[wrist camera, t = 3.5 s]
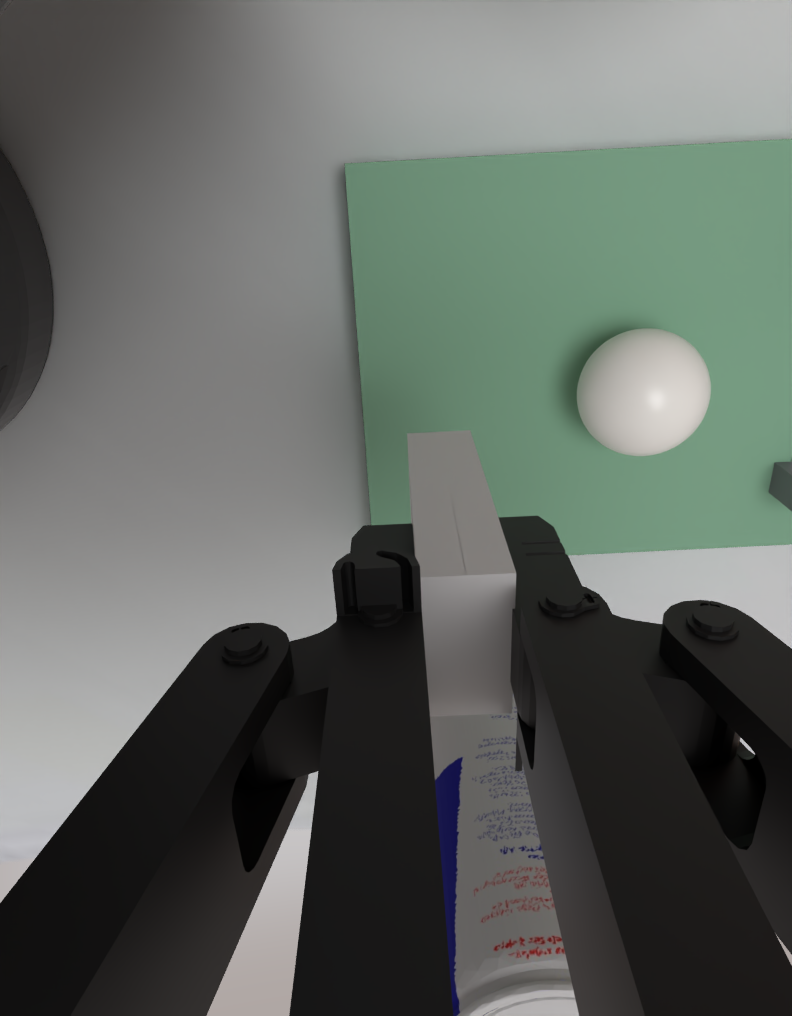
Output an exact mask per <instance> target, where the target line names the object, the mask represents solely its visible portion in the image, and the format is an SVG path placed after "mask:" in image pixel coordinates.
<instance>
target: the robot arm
mask: <svg viewBox="0 0 792 1016" xmlns="http://www.w3.org/2000/svg"><path fill="white" fill-rule="evenodd" d="M11 1H12V0H0V15H1V13H2V12H3V11H4V10H5V9H6V7H7V6H8V5H9V4H10V3H11ZM52 320H53V295H52V282H51V276H50V269H49V263H48V259H47V254H46V250H45V246H44V243H43V239H42V236H41V232H40V229H39V226H38V224H37V221H36V218H35V215H34V213H33V210H32V208H31V206H30V203H29V201H28V199H27V196H26V194H25V192H24V190H23V188H22V186H21V184H20V182H19V180H18V178H17V176H16V175H15V173H14V171H13V169H12V168H11V166H10V164H9V163H8V161H7V159H6V157H5V156H4V154H3V153H2V151H1V150H0V430H1V429H3V428H4V427H5V426H6V425H7V424H8V423H9V422H10V421H11V420H12V419H13V418H14V417H15V416H16V414H17V413H18V412H19V411H20V410H21V409H22V407H23V406H24V404H25V403H26V401H27V400H28V399H29V397H30V395H31V393H32V392H33V390H34V388H35V386H36V384H37V382H38V380H39V377H40V375H41V373H42V370H43V367H44V364H45V361H46V357H47V353H48V349H49V345H50V339H51V332H52ZM407 441H408V463H409V486H410V508H411V523H409V524H388V525H367V526H363V527H362V528H361V529H360V530H359V531H358V532H357V533H356V534H355V535H354V536H353V538H352V542H351V551H350V553H349V554H347V555H345V556H344V557H342V558H341V559H340V560H338V561H337V562H336V564H335V566H334V568H333V570H332V572H333V582H334V592H335V601H336V611H337V621H336V622H335V623H334V624H333V625H332V626H330V627H329V628H328V629H326V630H324V631H322V632H320V633H318V634H315V635H312V636H309V637H306V638H302V639H298V640H294V641H291V642H289V639H288V637H287V634H286V633H285V632H284V631H282V630H281V629H279V628H278V627H277V626H273V625H269V624H265V623H245V624H240V625H236V626H233V627H229V628H227V629H225V630H223V631H221V632H219V633H217V634H215V635H214V636H212V637H211V638H210V639H209V640H208V641H207V642H206V643H205V644H203V646H202V647H201V648H200V650H199V651H198V652H197V653H196V655H195V656H194V657H193V658H192V660H191V661H190V662H189V664H188V665H187V666H186V667H185V669H184V670H183V671H182V673H181V674H180V675H179V676H178V678H177V679H176V680H175V681H174V683H173V684H172V685H171V687H170V688H169V689H168V690H167V692H166V693H165V694H164V695H163V697H162V698H161V699H160V701H159V702H158V703H157V704H156V706H155V707H154V708H153V709H152V711H151V712H150V713H149V715H148V716H147V717H146V718H145V720H144V721H143V722H142V723H141V725H140V726H139V727H138V729H137V730H136V731H135V732H134V734H133V735H132V736H131V737H130V739H129V740H128V741H127V743H126V744H125V745H124V746H123V748H122V749H121V750H120V751H119V753H118V754H117V755H116V757H115V758H114V759H113V760H112V762H111V763H110V764H109V765H108V767H107V768H106V769H105V771H104V772H103V773H102V774H101V776H100V777H99V778H98V779H97V781H96V782H95V783H94V785H93V786H92V787H91V788H90V790H89V791H88V792H87V793H86V795H85V796H84V797H83V799H82V800H81V801H80V802H79V804H78V805H77V806H76V807H75V809H74V810H73V811H72V813H71V814H70V815H69V816H68V818H67V819H66V820H65V821H64V823H63V824H62V825H61V827H60V828H59V829H58V830H57V832H56V833H55V834H54V835H53V837H52V838H51V839H50V841H49V842H48V843H47V844H46V846H45V847H44V848H43V849H42V851H41V852H40V853H39V855H38V856H37V857H36V858H35V860H34V861H33V862H32V863H31V865H30V866H29V867H28V869H27V870H26V871H25V873H24V874H23V875H22V876H21V877H20V879H19V880H18V881H17V883H16V884H15V885H14V886H13V888H12V889H11V890H10V891H9V893H8V894H7V895H6V897H5V898H4V899H3V901H2V902H1V903H0V1016H206V1015H207V1013H208V1010H209V1008H210V1006H211V1004H212V1001H213V999H214V997H215V994H216V992H217V990H218V988H219V985H220V983H221V981H222V978H223V976H224V974H225V971H226V969H227V967H228V964H229V962H230V960H231V958H232V955H233V953H234V951H235V949H236V946H237V944H238V942H239V939H240V937H241V935H242V932H243V930H244V928H245V925H246V923H247V921H248V919H249V916H250V914H251V912H252V909H253V907H254V905H255V903H256V900H257V898H258V896H259V893H260V891H261V889H262V887H263V884H264V882H265V880H266V877H267V875H268V873H269V871H270V868H271V866H272V863H273V861H274V859H275V857H276V854H277V852H278V850H279V848H280V845H281V843H282V841H283V838H284V836H285V834H286V832H287V829H288V827H289V825H290V822H291V820H292V818H293V815H294V813H295V811H296V809H297V806H298V804H299V802H300V799H301V797H302V795H303V793H304V790H305V788H306V785H307V779H308V774H310V773H313V772H317V771H319V772H318V780H317V788H316V797H315V805H314V814H313V822H312V830H311V839H310V847H309V856H308V864H307V872H306V881H305V889H304V898H303V906H302V915H301V923H300V932H299V940H298V948H297V956H296V965H295V974H294V982H293V990H292V999H291V1007H290V1015H289V1016H453V1004H452V992H451V979H450V966H449V953H448V940H447V927H446V915H445V902H444V889H443V876H442V863H441V851H440V838H439V825H438V812H437V799H436V787H435V774H434V761H433V748H432V735H431V723H430V717H435V716H458V715H481V714H504V713H512V696H513V695H514V699H515V703H516V707H517V733H516V762H515V771H522V766H523V768H524V772H525V776H526V781H527V785H528V790H529V794H530V799H531V803H532V808H533V812H534V817H535V821H536V826H537V830H538V834H539V839H540V843H541V848H542V852H543V857H544V861H545V866H546V870H547V875H548V879H549V884H550V888H551V892H552V897H553V901H554V906H555V910H556V915H557V919H558V924H559V928H560V933H561V937H562V942H563V946H564V950H565V955H566V959H567V964H568V968H569V973H570V977H571V982H572V986H573V991H574V995H575V999H576V1004H577V1008H578V1013H579V1016H792V965H791V964H790V962H789V960H788V958H787V956H786V954H785V952H784V950H783V948H782V946H781V944H780V942H779V940H778V938H777V936H778V937H779V939H780V940H781V941H782V942H783V944H784V945H785V946H786V948H787V949H788V950H789V952H790V953H791V954H792V649H791V648H790V647H789V646H787V645H786V644H785V643H783V642H782V641H781V640H780V639H778V638H777V637H776V636H774V635H773V634H772V633H771V632H769V631H768V630H767V629H766V628H764V627H763V626H762V625H760V624H759V623H758V622H757V621H755V620H754V619H753V618H751V617H750V616H748V615H746V614H745V613H743V612H741V611H740V610H738V609H736V608H733V607H730V606H727V605H724V604H721V603H719V602H713V601H704V600H696V601H683V602H680V603H678V604H675V605H672V606H670V608H669V609H668V610H667V611H666V612H665V613H664V616H663V623H662V624H656V623H649V622H642V621H635V620H631V619H626V618H621V617H619V616H616V615H613V614H612V613H611V611H610V609H609V607H608V605H607V603H606V602H605V601H604V600H603V598H602V597H601V596H600V595H599V594H597V593H596V592H594V591H592V590H590V589H588V588H586V587H583V586H582V585H581V583H580V581H579V579H578V576H577V574H576V572H575V570H574V568H573V566H572V564H571V562H570V560H569V558H568V555H567V554H566V553H565V549H564V547H563V545H562V543H560V539H559V537H558V535H557V532H556V530H555V528H554V527H553V526H552V525H551V524H549V523H548V522H546V521H545V520H544V519H542V518H541V517H539V516H518V517H498V515H497V512H496V509H495V506H494V503H493V500H492V496H491V493H490V490H489V487H488V484H487V481H486V478H485V475H484V472H483V469H482V465H481V462H480V459H479V456H478V453H477V450H476V447H475V444H474V441H473V438H472V435H471V431H470V430H466V431H446V432H426V433H407ZM740 737H741V738H742V739H743V740H744V741H745V742H746V743H747V744H748V745H749V746H750V747H751V749H752V750H753V751H754V753H755V755H754V754H753V753H751V752H750V751H749V750H748V749H747V748H746V747H745V746H744V745H743V744H742V743H741V742H740ZM775 933H776V934H775ZM776 935H777V936H776Z"/></svg>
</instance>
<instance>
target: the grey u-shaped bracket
mask: <svg viewBox="0 0 792 1016" xmlns="http://www.w3.org/2000/svg"><path fill="white" fill-rule="evenodd" d="M768 492H769V493H770V494H771V495H772V496H774V497H775V498H776V499H777V500H778V501H780V502H781V503H782V504H783V505H785V506H786V507H787V508H788V509H789V510H791V511H792V462H775V463H774V467H773V472H772V477H771V482H770V487H769V491H768Z"/></svg>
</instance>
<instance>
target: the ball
mask: <svg viewBox="0 0 792 1016" xmlns="http://www.w3.org/2000/svg"><path fill="white" fill-rule="evenodd" d="M710 395H711V381H710V376H709V372H708V369H707V366H706V364H705V362H704V360H703V358H702V357H701V355H700V354H699V352H698V351H697V350H696V349H695V348H694V347H693V346H692V345H691V344H690V343H689V342H688V341H686V340H685V339H683V338H682V337H680V336H678V335H676V334H674V333H671V332H668V331H665V330H661V329H654V328H642V329H634V330H630V331H626V332H623V333H621V334H618V335H616V336H614V337H613V338H611V339H609V340H608V341H606V342H605V343H603V344H602V345H601V346H600V347H599V348H597V349H596V351H595V352H594V353H593V354H592V355H591V356H590V358H589V359H588V360H587V362H586V364H585V366H584V367H583V370H582V372H581V375H580V378H579V381H578V386H577V405H578V410H579V414H580V417H581V419H582V421H583V424H584V425H585V427H586V428H587V430H588V432H589V433H590V434H591V435H592V436H593V437H594V438H595V439H596V440H597V441H598V442H599V443H601V444H602V445H604V446H605V447H607V448H609V449H611V450H613V451H615V452H618V453H621V454H625V455H631V456H650V455H655V454H659V453H662V452H665V451H668V450H670V449H672V448H674V447H676V446H678V445H679V444H681V443H682V442H684V441H685V440H686V439H687V438H688V437H689V436H691V435H692V434H693V433H694V431H695V430H696V429H697V428H698V426H699V425H700V423H701V422H702V420H703V418H704V416H705V414H706V411H707V409H708V405H709V401H710Z"/></svg>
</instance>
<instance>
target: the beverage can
mask: <svg viewBox="0 0 792 1016" xmlns="http://www.w3.org/2000/svg"><path fill="white" fill-rule="evenodd" d="M430 723H431V735H432V748H433V761H434V774H435V787H436V799H437V812H438V825H439V838H440V851H441V863H442V876H443V889H444V902H445V915H446V927H447V940H448V953H449V966H450V979H451V992H452V1004H453V1016H579V1013H578V1008H577V1004H576V999H575V995H574V991H573V986H572V982H571V977H570V973H569V968H568V964H567V959H566V955H565V950H564V946H563V942H562V937H561V933H560V928H559V924H558V919H557V915H556V910H555V906H554V901H553V897H552V892H551V888H550V884H549V879H548V875H547V870H546V866H545V861H544V857H543V852H542V848H541V843H540V839H539V834H538V830H537V826H536V821H535V817H534V812H533V808H532V803H531V799H530V794H529V790H528V785H527V781H526V776H525V772H524V768H523V766H522V771H515V762H516V733H517V707H516V703H515V699H514V695H513V696H512V713H504V714H481V715H458V716H435V717H430Z"/></svg>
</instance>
